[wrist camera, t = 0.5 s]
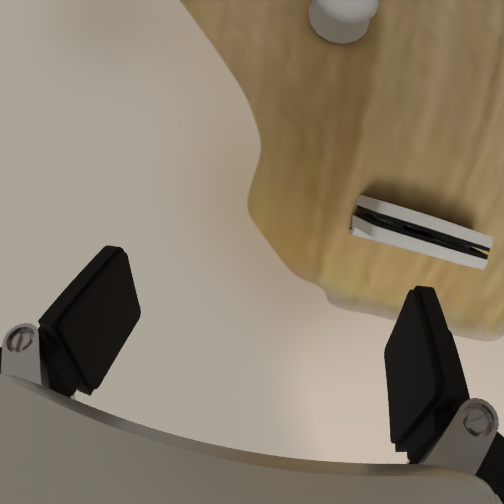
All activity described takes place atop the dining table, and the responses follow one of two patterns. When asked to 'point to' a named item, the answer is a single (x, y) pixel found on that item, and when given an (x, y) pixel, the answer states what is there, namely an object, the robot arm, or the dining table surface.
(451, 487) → the robot arm
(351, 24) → the salt shaker
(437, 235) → the white rounded block
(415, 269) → the dining table surface
